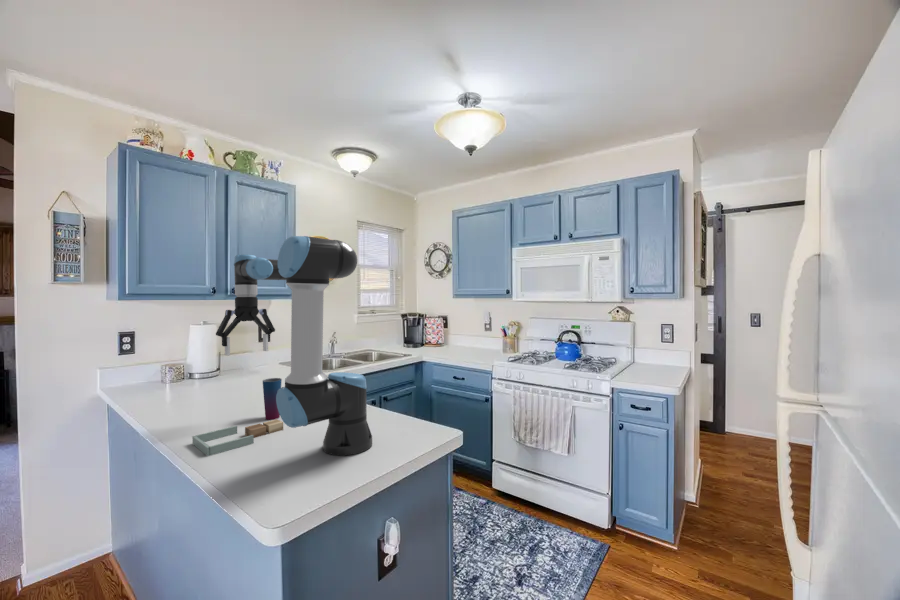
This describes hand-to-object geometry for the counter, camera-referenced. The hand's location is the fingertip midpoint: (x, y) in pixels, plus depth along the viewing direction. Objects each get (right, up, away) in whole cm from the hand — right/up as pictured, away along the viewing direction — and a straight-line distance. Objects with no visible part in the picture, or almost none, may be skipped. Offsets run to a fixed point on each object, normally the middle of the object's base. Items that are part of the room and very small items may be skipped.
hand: (247, 353), depth 143 cm
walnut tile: (+9, -27, -11) cm, 30 cm away
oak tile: (+13, -27, -7) cm, 30 cm away
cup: (+6, -27, +7) cm, 28 cm away
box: (+2, -27, -19) cm, 33 cm away
